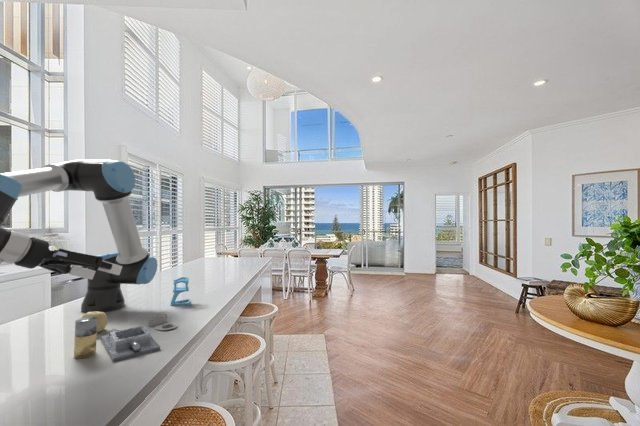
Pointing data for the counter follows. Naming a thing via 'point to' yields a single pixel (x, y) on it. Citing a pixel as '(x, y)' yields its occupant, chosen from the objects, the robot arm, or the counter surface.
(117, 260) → the robot arm
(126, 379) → the counter surface
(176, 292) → the chair
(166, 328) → the bracket
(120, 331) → the coupling board
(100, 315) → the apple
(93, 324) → the gold and grey cylinder
